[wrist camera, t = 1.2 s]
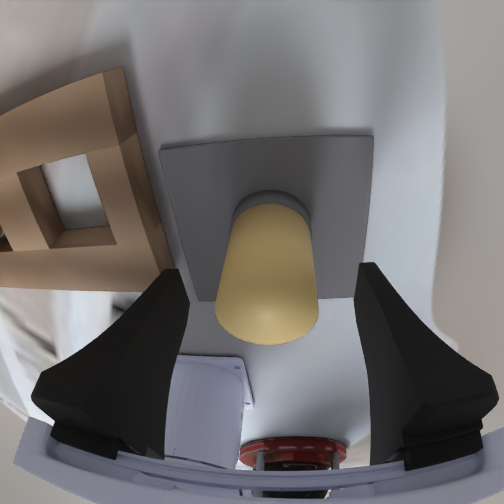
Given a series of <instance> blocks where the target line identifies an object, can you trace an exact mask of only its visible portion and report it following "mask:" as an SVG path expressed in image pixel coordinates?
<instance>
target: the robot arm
mask: <svg viewBox="0 0 504 504" xmlns="http://www.w3.org/2000/svg"><path fill="white" fill-rule="evenodd" d="M189 306H190V302H189V299H188V296H187V293H186V290H185V287H184V284H183V281H182V278H181V275H180V272H179V269H164V270H163V271H162V272H161V273H160V274H159V276H158V277H157V278H156V279H155V280H154V281H153V282H152V283H151V284H150V286H149V287H148V288H147V289H146V290H145V291H144V292H143V293H142V295H141V296H140V297H139V298H138V299H137V300H136V301H135V302H134V303H133V304H132V305H131V306H130V307H129V308H128V309H127V310H126V311H125V312H124V313H123V315H122V316H121V317H120V318H119V319H118V320H117V321H115V322H114V323H113V324H112V325H111V326H110V327H109V328H108V329H107V330H105V331H104V332H103V333H102V334H101V335H99V336H98V337H97V338H96V339H94V340H93V341H92V342H90V343H89V344H88V345H86V346H85V347H84V348H82V349H81V350H79V351H78V352H76V353H75V354H73V355H72V356H70V357H68V358H67V359H65V360H63V361H62V362H60V363H58V364H56V365H54V366H52V367H51V368H49V369H47V370H45V371H43V372H41V374H40V376H39V378H38V381H37V383H36V385H35V387H34V390H33V392H32V394H31V399H32V401H33V403H34V404H35V405H36V406H37V407H38V408H40V409H41V410H42V411H43V412H44V413H46V414H47V415H48V416H49V417H51V418H52V419H53V420H54V421H55V423H54V426H51V425H49V424H47V423H45V422H43V421H40V420H38V419H35V418H33V417H29V419H28V421H27V424H26V426H25V429H24V432H23V434H22V437H21V440H20V443H19V446H18V449H17V452H16V454H15V458H14V461H13V463H14V464H15V465H17V466H19V467H20V468H22V469H24V470H26V471H28V472H30V473H31V474H33V475H35V476H37V477H39V478H41V479H43V480H45V481H47V482H49V483H51V484H53V485H55V486H57V487H59V488H61V489H64V490H66V491H68V492H70V493H73V494H75V495H77V496H80V497H82V498H85V499H87V500H90V501H92V502H95V503H97V504H472V503H475V502H478V501H480V500H483V499H485V498H487V497H490V496H492V495H494V494H497V493H499V492H501V491H503V490H504V428H501V429H498V430H496V431H493V432H490V433H488V434H485V435H484V436H482V437H481V433H480V430H481V429H482V428H483V424H482V420H481V419H482V418H483V417H484V416H486V414H488V413H489V412H490V411H491V410H492V409H493V408H494V407H495V406H496V404H497V402H498V400H499V396H498V392H497V389H496V386H495V383H494V381H493V378H492V376H491V375H490V374H488V373H487V372H485V371H483V370H482V369H480V368H479V367H477V366H475V365H474V364H472V363H471V362H469V361H468V360H466V359H465V358H464V357H462V356H461V355H459V354H458V353H457V352H456V351H454V350H453V349H452V348H451V347H449V346H448V345H447V344H446V343H445V342H443V341H442V340H441V339H440V338H439V337H438V336H437V335H435V334H434V333H433V332H432V331H431V330H430V329H429V328H428V327H427V326H426V325H425V324H424V323H423V322H422V321H421V320H420V319H419V318H418V316H417V315H416V314H415V313H414V312H413V311H412V310H411V309H410V307H409V306H408V305H407V304H406V303H405V301H404V300H403V299H402V298H401V296H400V295H399V294H398V293H397V292H396V290H395V289H394V288H393V286H392V285H391V284H390V282H389V281H388V280H387V278H386V277H385V276H384V274H383V273H382V272H381V270H380V269H379V268H378V266H377V265H376V264H375V263H374V262H367V263H359V268H358V275H357V281H356V288H355V294H354V307H355V316H356V323H357V328H358V332H359V336H360V341H361V345H362V350H363V354H364V359H365V363H366V368H367V375H368V384H369V396H370V416H371V450H370V466H364V467H355V468H345V469H333V470H316V471H253V470H236V469H235V465H236V463H237V461H238V458H239V450H240V441H241V431H242V422H243V412H244V409H253V408H254V403H253V399H252V395H251V391H250V387H249V382H248V378H247V374H246V370H245V366H244V362H243V360H242V359H241V358H238V357H210V356H188V355H178V352H179V349H180V346H181V342H182V339H183V335H184V332H185V328H186V325H187V319H188V313H189ZM343 488H344V489H343ZM330 489H339V490H333V491H331V492H330V493H329V497H327V498H326V499H283V498H261V497H253V495H252V493H251V491H250V490H258V491H314V490H330Z"/></svg>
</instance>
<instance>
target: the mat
mask: <svg viewBox="0 0 504 504" xmlns="http://www.w3.org/2000/svg"><path fill="white" fill-rule="evenodd" d="M373 146H374V137H373V136H295V137H274V138H259V139H246V140H234V141H223V142H214V143H205V144H196V145H188V146H181V147H173V148H166V149H160V150H159V151H158V153H159V158H160V162H161V166H162V170H163V174H164V178H165V182H166V186H167V190H168V194H169V198H170V202H171V206H172V210H173V213H174V217H175V221H176V225H177V228H178V232H179V236H180V239H181V243H182V246H183V250H184V253H185V257H186V260H187V264H188V267H189V270H190V274H191V277H192V280H193V284H194V287H195V290H196V294H197V297H198V300H199V301H216V298H217V293H218V288H219V284H220V279H221V275H222V270H223V266H224V261H225V257H226V253H227V248H228V244H229V230H230V226H231V222H232V217H233V214H234V211H235V209H236V207H237V205H238V204H239V203H240V202H241V201H242V200H243V199H244V198H246V197H247V196H248V195H250V194H252V193H255V192H258V191H262V190H280V191H284V192H287V193H289V194H291V195H293V196H295V197H296V198H297V199H299V200H300V201H301V202H302V203H303V204H304V206H305V207H306V209H307V210H308V213H309V216H310V221H311V228H312V253H313V261H314V270H315V279H316V289H317V299H327V298H348V297H354V294H355V288H356V281H357V275H358V268H359V263H362V262H363V255H364V248H365V240H366V232H367V223H368V213H369V203H370V192H371V179H372V165H373Z"/></svg>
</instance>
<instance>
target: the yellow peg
mask: <svg viewBox="0 0 504 504" xmlns="http://www.w3.org/2000/svg"><path fill="white" fill-rule="evenodd" d="M318 314H319V310H318V299H317V289H316V279H315V270H314V261H313V253H312V228H311V221H310V216H309V213H308V210H307V209H306V207H305V206H304V204H303V203H302V202H301V201H300V200H299V199H297V198H296V197H295V196H293V195H291V194H289V193H287V192H284V191H280V190H262V191H258V192H255V193H252V194H250V195H248V196H247V197H246V198H244V199H243V200H242V201H241V202H240V203H239V204H238V205H237V207H236V209H235V211H234V214H233V217H232V222H231V226H230V230H229V244H228V248H227V253H226V257H225V261H224V266H223V270H222V275H221V279H220V284H219V288H218V293H217V298H216V302H215V315H216V318H217V320H218V322H219V324H220V325H221V326H222V327H223V328H224V329H225V330H226V331H227V332H228V333H230V334H231V335H233V336H235V337H236V338H239V339H241V340H243V341H246V342H250V343H254V344H261V345H277V344H283V343H288V342H291V341H294V340H296V339H298V338H300V337H302V336H304V335H305V334H307V333H308V332H309V331H310V330H311V329H312V328H313V326H314V325H315V323H316V321H317V319H318Z"/></svg>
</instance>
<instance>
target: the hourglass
mask: <svg viewBox="0 0 504 504" xmlns="http://www.w3.org/2000/svg"><path fill="white" fill-rule="evenodd" d="M345 459H346V446H345V445H343V444H342V443H340V442H338V441H334V440H330V439H322V438H309V437H289V438H273V439H265V440H258V441H254V442H251V443H247V444H246V445H244V446H242V447H241V448H240V455H239V460H240V461H241V462H242V463H243V464H245V465H247V466H250V467H253V471H316V470H327V469H329V468H330V467H331V470H333V469H339V463H341V462H343V461H344V460H345ZM333 490H339V489H331V491H333ZM327 491H328V490H314V491H258V490H251V493H252V495H253V497H261V498H283V499H324V498H325V496H326V494H327Z"/></svg>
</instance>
